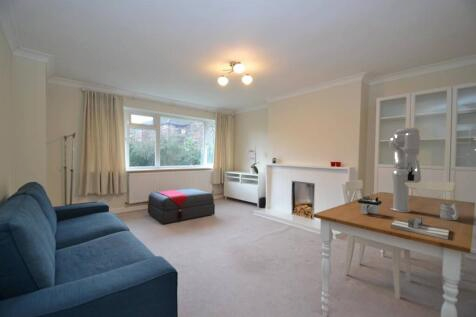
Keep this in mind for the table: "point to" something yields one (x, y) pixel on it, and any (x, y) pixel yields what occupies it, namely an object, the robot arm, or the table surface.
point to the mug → (449, 211)
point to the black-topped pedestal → (369, 205)
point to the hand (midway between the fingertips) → (410, 180)
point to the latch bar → (417, 222)
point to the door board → (421, 228)
